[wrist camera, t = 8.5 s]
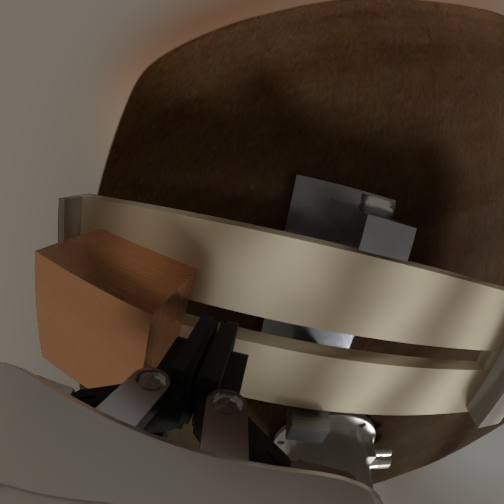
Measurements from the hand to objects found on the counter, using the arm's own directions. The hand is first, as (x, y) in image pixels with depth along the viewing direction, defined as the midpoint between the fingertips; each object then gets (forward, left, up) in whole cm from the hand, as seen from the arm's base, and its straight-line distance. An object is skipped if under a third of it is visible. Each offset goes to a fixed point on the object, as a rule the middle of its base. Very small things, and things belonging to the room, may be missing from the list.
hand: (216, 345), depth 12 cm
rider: (+5, 0, -3) cm, 6 cm away
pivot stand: (-6, 0, -11) cm, 13 cm away
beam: (-6, 0, -3) cm, 7 cm away
